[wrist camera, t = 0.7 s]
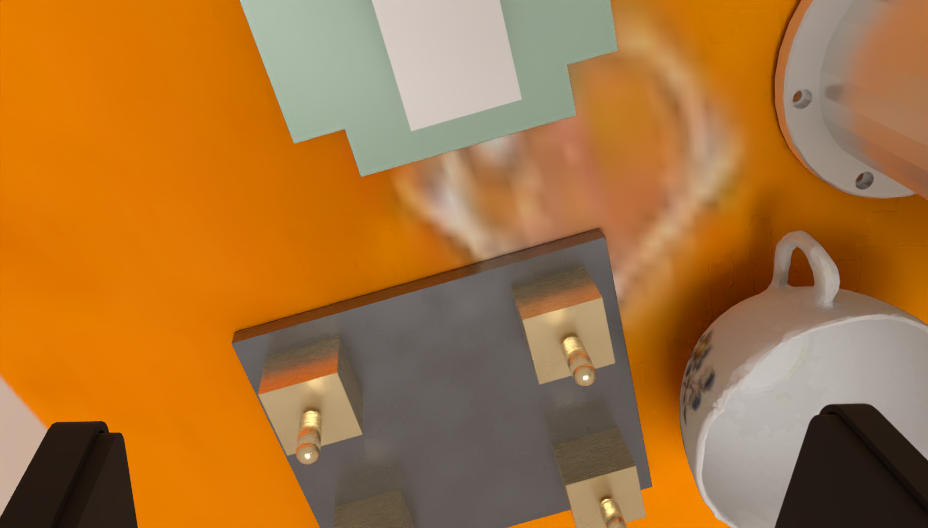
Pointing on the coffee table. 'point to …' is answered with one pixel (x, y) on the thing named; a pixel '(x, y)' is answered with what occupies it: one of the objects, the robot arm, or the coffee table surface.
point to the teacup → (793, 382)
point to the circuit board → (366, 87)
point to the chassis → (461, 397)
